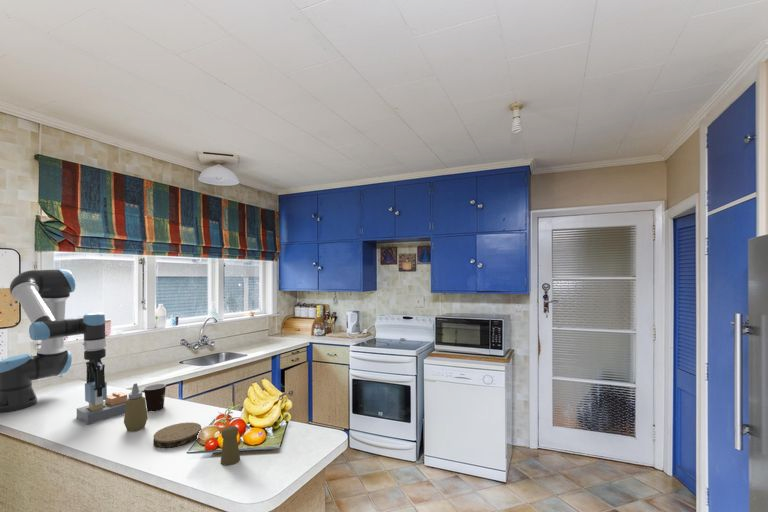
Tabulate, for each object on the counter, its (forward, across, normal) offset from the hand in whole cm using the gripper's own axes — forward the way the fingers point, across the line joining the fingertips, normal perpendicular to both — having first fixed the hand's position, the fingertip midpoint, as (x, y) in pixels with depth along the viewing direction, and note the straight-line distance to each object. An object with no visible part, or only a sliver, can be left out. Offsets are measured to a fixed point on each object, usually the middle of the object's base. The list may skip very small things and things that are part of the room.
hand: (96, 402), depth 169 cm
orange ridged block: (+2, 0, +8) cm, 8 cm away
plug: (+3, 0, 0) cm, 3 cm away
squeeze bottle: (+7, +29, +4) cm, 30 cm away
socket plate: (+6, 0, +4) cm, 7 cm away
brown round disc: (+7, +52, +9) cm, 53 cm away
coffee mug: (+7, +12, +20) cm, 24 cm away
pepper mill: (+7, +84, +10) cm, 85 cm away
